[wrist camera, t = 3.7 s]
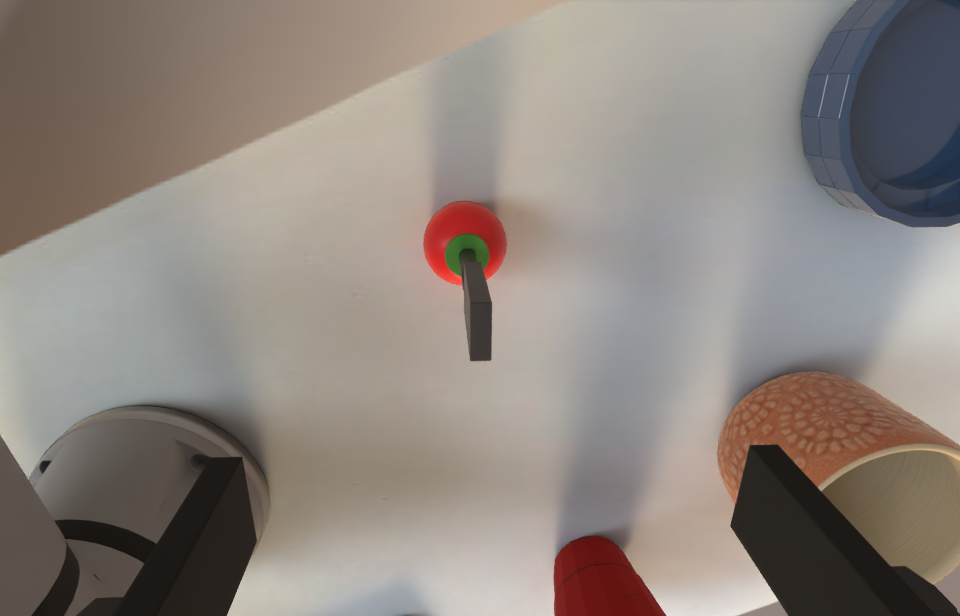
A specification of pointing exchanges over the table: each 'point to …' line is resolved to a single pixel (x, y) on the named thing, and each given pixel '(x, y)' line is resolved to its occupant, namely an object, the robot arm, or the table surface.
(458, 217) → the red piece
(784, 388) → the planter
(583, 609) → the plastic cup
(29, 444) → the table surface
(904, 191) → the dish
